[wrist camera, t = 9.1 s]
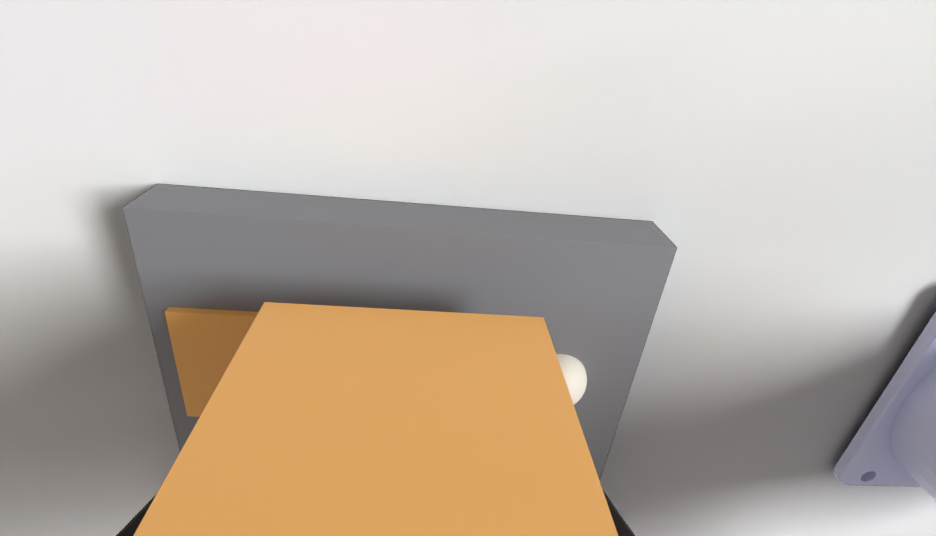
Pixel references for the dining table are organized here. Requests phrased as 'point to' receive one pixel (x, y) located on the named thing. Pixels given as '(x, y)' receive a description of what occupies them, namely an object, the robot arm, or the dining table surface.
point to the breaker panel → (393, 280)
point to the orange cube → (385, 432)
